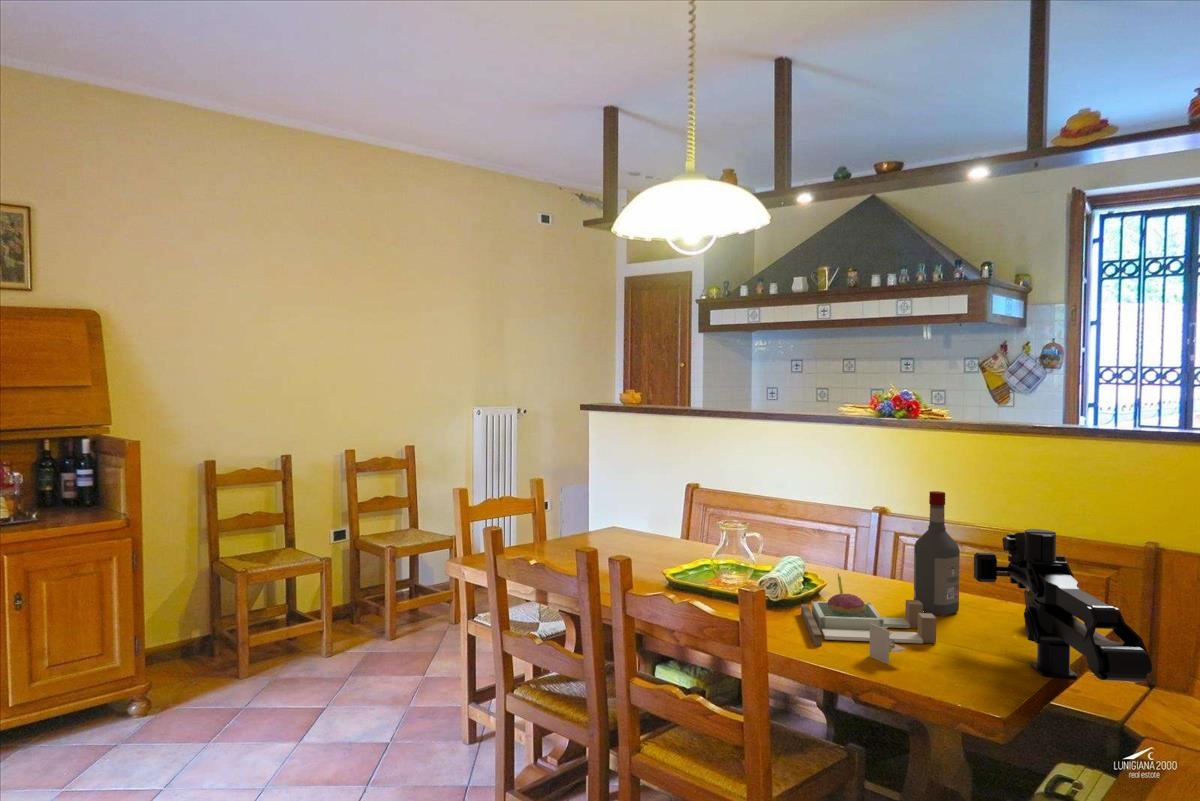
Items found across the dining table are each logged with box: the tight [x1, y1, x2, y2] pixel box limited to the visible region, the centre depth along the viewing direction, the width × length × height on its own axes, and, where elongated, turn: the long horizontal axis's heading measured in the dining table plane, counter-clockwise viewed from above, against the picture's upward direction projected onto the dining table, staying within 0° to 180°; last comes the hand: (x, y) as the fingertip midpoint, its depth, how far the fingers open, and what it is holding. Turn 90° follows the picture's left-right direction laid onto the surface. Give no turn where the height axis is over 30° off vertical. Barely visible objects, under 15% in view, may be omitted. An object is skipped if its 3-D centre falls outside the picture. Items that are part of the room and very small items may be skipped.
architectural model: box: [869, 623, 907, 666], centre depth 162 cm, size 3×7×7 cm, turn 23°
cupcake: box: [827, 573, 865, 617], centre depth 186 cm, size 9×8×12 cm
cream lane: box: [821, 612, 937, 644], centre depth 175 cm, size 5×24×6 cm, turn 83°
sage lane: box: [811, 599, 924, 631], centre depth 186 cm, size 13×24×6 cm, turn 83°
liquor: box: [913, 490, 961, 617], centre depth 197 cm, size 9×9×30 cm
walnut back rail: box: [800, 603, 823, 647], centre depth 182 cm, size 23×2×2 cm, turn 173°
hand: (1005, 559), depth 181 cm, fingers open, 9 cm apart
